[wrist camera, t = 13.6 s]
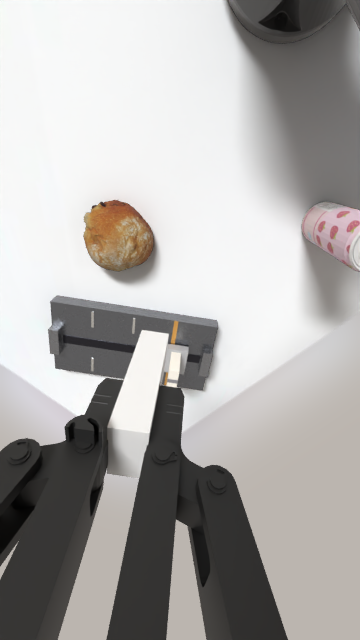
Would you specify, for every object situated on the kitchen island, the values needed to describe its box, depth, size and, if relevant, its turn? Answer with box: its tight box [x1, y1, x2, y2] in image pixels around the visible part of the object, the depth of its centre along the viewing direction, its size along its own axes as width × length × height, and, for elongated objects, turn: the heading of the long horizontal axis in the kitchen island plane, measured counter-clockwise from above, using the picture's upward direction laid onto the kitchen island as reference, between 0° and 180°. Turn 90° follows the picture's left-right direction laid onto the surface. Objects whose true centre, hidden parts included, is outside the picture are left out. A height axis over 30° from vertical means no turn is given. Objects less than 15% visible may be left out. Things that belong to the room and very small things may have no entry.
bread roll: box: [83, 200, 154, 271], centre depth 42 cm, size 10×10×8 cm
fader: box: [164, 344, 189, 387], centre depth 48 cm, size 4×5×7 cm
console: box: [48, 296, 218, 390], centre depth 51 cm, size 28×14×4 cm, turn 82°
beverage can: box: [302, 202, 360, 272], centre depth 35 cm, size 6×6×15 cm
